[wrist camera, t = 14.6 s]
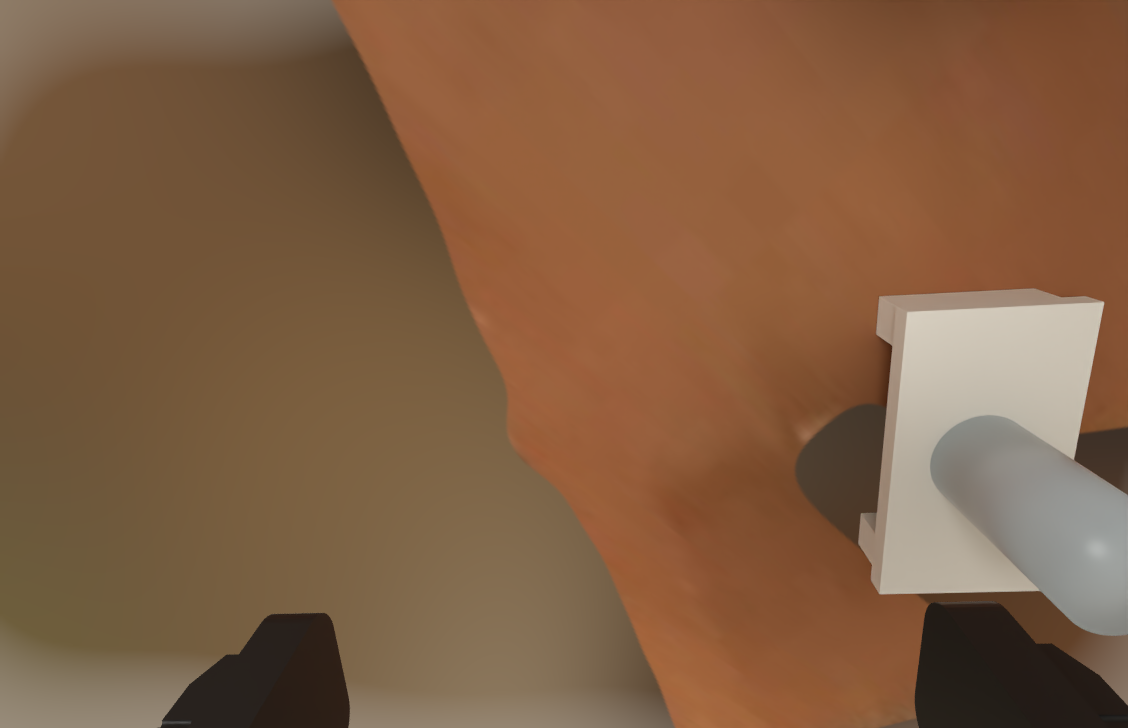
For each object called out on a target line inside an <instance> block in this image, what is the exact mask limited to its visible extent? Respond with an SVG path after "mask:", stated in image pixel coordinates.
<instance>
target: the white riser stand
mask: <svg viewBox="0 0 1128 728" xmlns="http://www.w3.org/2000/svg"><path fill="white" fill-rule="evenodd" d="M1103 307H1104V302H1102V301H1099V300H1096V299H1093V298H1090V297H1087V296H1080V297H1059V296H1056V295H1053V294H1050V293H1047V292H1044V291H1041V290H1038V289H1035V288H1031V289H1012V290H993V291H973V292H954V293H935V294H915V295H896V296H879V305H878V317H877V329H876V335H878V336H879V337H880V338H882V339H883V340H885V341H886V342H888V343H889V344H891V345H892V357H891V367H890V378H889V389H888V400H887V411H886V421H885V432H884V443H883V453H882V464H881V475H880V487H879V497H878V507H877V513H861V518H860V530H859V542H858V544H859V545H860V547H861V549H862V550H863V552H864V553H865V555H866V556H867V558H868V559H869V561H870V563H871V564H872V571H871V581H872V583H873V585H874V586H875V588H876V590H877V591H878V593H879V594H915V593H963V592H1010V591H1040V590H1039V589H1038V588H1037V587H1036V586H1035V585H1034V584H1033V583H1032V582H1031V581H1030V580H1029V579H1028V578H1027V577H1026V576H1025V575H1024V574H1023V573H1022V572H1021V571H1020V570H1019V569H1018V568H1017V567H1016V566H1015V565H1014V564H1013V563H1012V562H1011V561H1010V560H1009V559H1008V558H1007V557H1006V556H1005V555H1004V554H1003V553H1002V552H1001V551H1000V550H999V549H998V548H997V547H996V546H995V545H994V544H993V543H992V542H991V541H990V540H989V539H988V538H987V537H986V536H985V535H983V534H982V533H981V532H980V531H979V530H978V529H977V528H976V527H975V526H974V525H973V524H972V523H971V522H970V521H969V520H968V519H967V518H966V517H965V516H964V515H963V514H962V513H961V512H960V511H959V510H958V509H957V508H956V507H955V506H954V505H953V504H952V503H951V502H950V501H949V500H948V499H947V498H946V497H945V496H944V495H943V494H942V493H941V492H940V491H939V490H938V489H937V487H936V486H935V484H934V482H933V480H932V477H931V472H930V462H931V457H932V454H933V451H934V449H935V447H936V445H937V444H938V442H939V441H940V439H941V438H942V437H943V436H944V435H945V434H946V433H947V432H948V431H949V430H950V429H951V428H953V427H954V426H956V425H957V424H959V423H961V422H963V421H965V420H968V419H971V418H974V417H978V416H986V415H994V416H1001V417H1005V418H1008V419H1010V420H1012V421H1014V422H1016V423H1017V424H1019V425H1020V426H1022V427H1023V428H1025V429H1026V430H1028V431H1030V432H1031V433H1033V434H1034V435H1036V436H1037V437H1039V438H1040V439H1042V440H1043V441H1045V442H1046V443H1048V444H1050V445H1051V446H1053V447H1054V448H1056V449H1057V450H1059V451H1060V452H1062V453H1063V454H1065V455H1067V456H1068V457H1070V458H1071V459H1073V460H1074V456H1075V451H1076V446H1077V440H1078V436H1079V430H1080V425H1081V420H1082V415H1083V410H1084V405H1085V399H1086V394H1087V389H1088V384H1089V379H1090V374H1091V368H1092V363H1093V358H1094V353H1095V348H1096V343H1097V337H1098V332H1099V327H1100V322H1101V317H1102V312H1103Z"/></svg>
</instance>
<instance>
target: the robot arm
mask: <svg viewBox="0 0 1128 728" xmlns="http://www.w3.org/2000/svg"><path fill="white" fill-rule="evenodd" d="M915 710H916V716H917V721H918V726H919V728H1128V706H1127V705H1126V703H1125V702H1124V701H1123V700H1122V699H1121V698H1120V697H1119V696H1118V695H1117V694H1116V693H1115V692H1114V691H1113V689H1112V688H1111V687H1110V686H1109V685H1108V684H1107V683H1106V682H1105V681H1104V680H1103V679H1102V678H1101V677H1100V676H1099V675H1098V674H1096V673H1095V672H1093V671H1092V670H1090V669H1089V668H1087V667H1086V666H1084V665H1083V664H1081V663H1080V662H1078V661H1077V660H1075V659H1074V658H1072V657H1071V656H1069V655H1068V654H1066V653H1065V652H1063V651H1062V650H1060V649H1059V648H1057V647H1056V646H1054V645H1053V644H1036V643H1035V642H1034V641H1033V639H1032V638H1031V637H1030V636H1029V635H1028V634H1027V633H1026V631H1025V630H1024V629H1023V628H1022V627H1021V626H1020V625H1019V623H1018V622H1017V621H1016V620H1015V619H1014V618H1013V617H1012V615H1011V614H1010V613H1009V612H1008V611H1007V610H1006V609H1005V608H1004V607H1003V606H1002V605H1001V604H999V603H997V602H993V601H983V602H934V603H931V604H930V605H929V606H928V608H927V610H926V613H925V618H924V626H923V634H922V642H921V650H920V658H919V665H918V673H917V681H916V689H915ZM349 714H350V706H349V698H348V692H347V688H346V683H345V678H344V673H343V669H342V664H341V660H340V655H339V650H338V645H337V641H336V636H335V631H334V627H333V623H332V620H331V619H330V617H329V616H328V615H327V614H325V613H302V614H271V615H269V616H267V617H266V618H265V619H264V620H263V621H262V623H261V624H260V625H259V627H258V628H257V630H256V631H255V632H254V634H253V635H252V637H251V638H250V640H249V641H248V642H247V644H246V645H245V647H244V648H243V650H242V651H241V652H240V654H239V655H226V656H224V657H223V658H222V659H221V660H220V661H218V662H217V663H216V664H214V665H213V666H212V667H211V668H210V669H208V670H207V671H206V672H204V673H203V674H202V675H201V676H199V677H198V678H197V679H196V680H195V681H193V682H192V683H191V684H189V686H188V687H187V688H186V690H185V691H184V693H183V694H182V695H181V696H180V698H179V699H178V700H177V702H176V703H175V704H174V705H173V707H172V708H171V710H170V711H169V712H168V714H167V715H166V716H165V717H164V719H163V720H162V726H161V727H160V728H348V726H349Z"/></svg>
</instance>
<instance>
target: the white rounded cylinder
mask: <svg viewBox="0 0 1128 728" xmlns="http://www.w3.org/2000/svg"><path fill="white" fill-rule="evenodd" d="M930 472H931V477H932V480H933V482H934V484H935V486H936V487H937V489H938V490H939V491H940V492H941V493H942V494H943V495H944V496H945V497H946V498H947V499H948V500H949V501H950V502H951V503H952V504H953V505H954V506H955V507H956V508H957V509H958V510H959V511H960V512H961V513H962V514H963V515H964V516H965V517H966V518H967V519H968V520H969V521H970V522H971V523H972V524H973V525H974V526H975V527H976V528H977V529H978V530H979V531H980V532H981V533H982V534H983V535H985V536H986V537H987V538H988V539H989V540H990V541H991V542H992V543H993V544H994V545H995V546H996V547H997V548H998V549H999V550H1000V551H1001V552H1002V553H1003V554H1004V555H1005V556H1006V557H1007V558H1008V559H1009V560H1010V561H1011V562H1012V563H1013V564H1014V565H1015V566H1016V567H1017V568H1018V569H1019V570H1020V571H1021V572H1022V573H1023V574H1024V575H1025V576H1026V577H1027V578H1028V579H1029V580H1030V581H1031V582H1032V583H1033V584H1034V585H1035V586H1036V587H1037V588H1038V589H1039V590H1040V591H1041V592H1042V593H1043V594H1045V596H1046V597H1047V598H1048V599H1050V601H1051V602H1052V603H1053V604H1055V605H1056V607H1057V608H1058V609H1059V610H1061V611H1062V612H1063V613H1064V614H1065V615H1066V616H1067V617H1068V618H1069V619H1070V620H1071V621H1072V622H1073V623H1074V624H1075V625H1077V626H1079V627H1080V628H1082V629H1084V630H1086V631H1089V632H1092V633H1096V634H1101V635H1109V636H1111V635H1112V636H1119V635H1128V495H1126V494H1125V493H1124V492H1122V491H1120V490H1119V489H1117V488H1116V487H1114V486H1113V485H1111V484H1110V483H1108V482H1107V481H1105V480H1104V479H1102V478H1100V477H1099V476H1097V475H1096V474H1094V473H1093V472H1091V471H1090V470H1088V469H1086V468H1085V467H1083V466H1082V465H1080V464H1079V463H1077V462H1076V461H1074V460H1073V459H1071V458H1070V457H1068V456H1067V455H1065V454H1063V453H1062V452H1060V451H1059V450H1057V449H1056V448H1054V447H1053V446H1051V445H1050V444H1048V443H1046V442H1045V441H1043V440H1042V439H1040V438H1039V437H1037V436H1036V435H1034V434H1033V433H1031V432H1030V431H1028V430H1026V429H1025V428H1023V427H1022V426H1020V425H1019V424H1017V423H1016V422H1014V421H1012V420H1010V419H1008V418H1005V417H1001V416H994V415H986V416H978V417H974V418H971V419H968V420H965V421H963V422H961V423H959V424H957V425H956V426H954V427H953V428H951V429H950V430H949V431H948V432H947V433H946V434H945V435H944V436H943V437H942V438H941V439H940V441H939V442H938V444H937V445H936V447H935V449H934V451H933V454H932V457H931V462H930Z"/></svg>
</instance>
